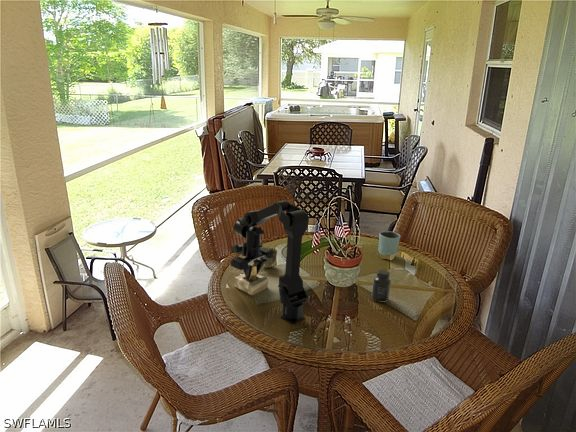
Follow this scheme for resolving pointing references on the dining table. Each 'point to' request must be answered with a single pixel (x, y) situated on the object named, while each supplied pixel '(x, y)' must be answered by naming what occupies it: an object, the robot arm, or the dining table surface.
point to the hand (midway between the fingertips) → (251, 277)
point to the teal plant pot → (388, 242)
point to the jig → (251, 284)
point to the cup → (270, 259)
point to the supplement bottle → (381, 286)
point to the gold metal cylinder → (253, 273)
